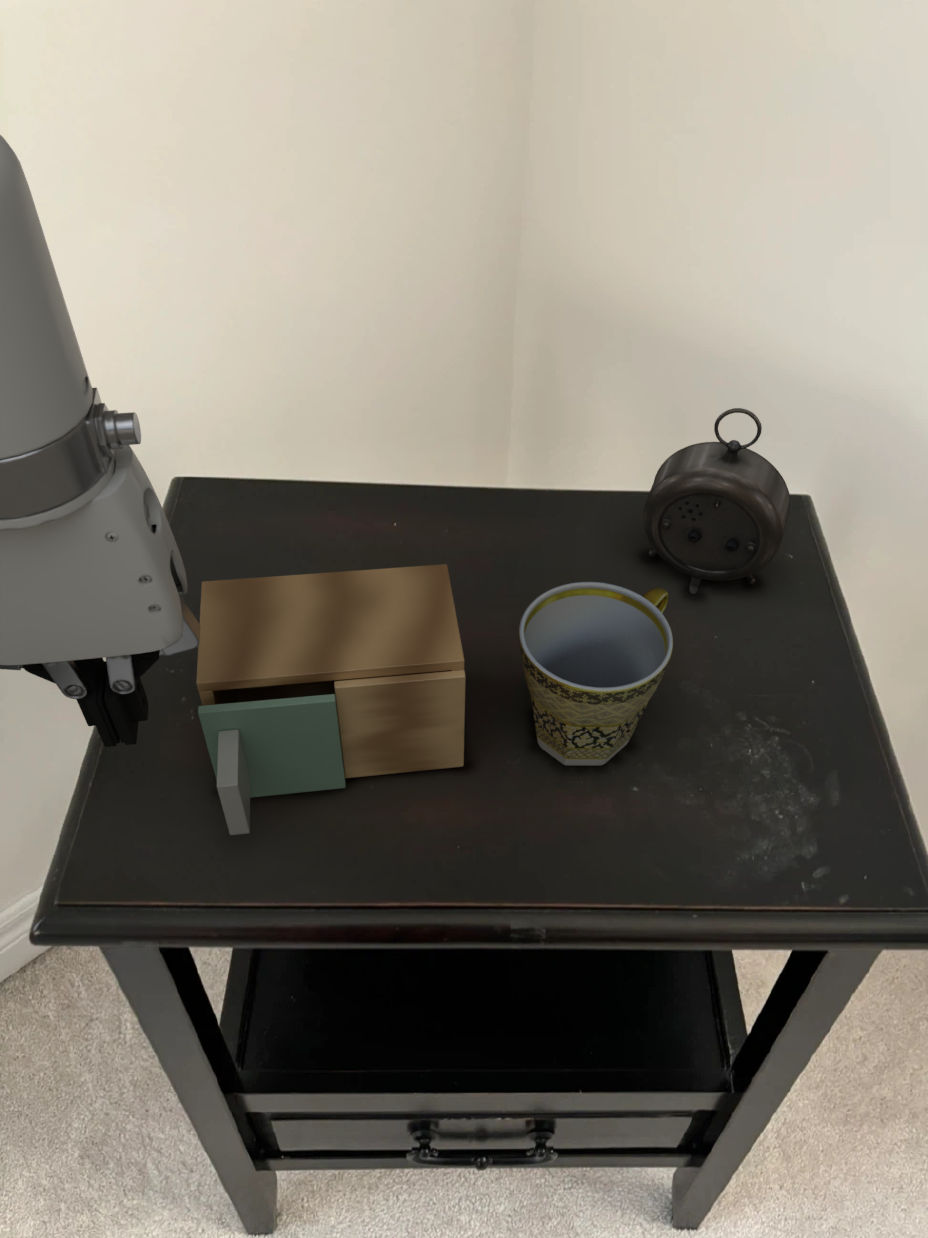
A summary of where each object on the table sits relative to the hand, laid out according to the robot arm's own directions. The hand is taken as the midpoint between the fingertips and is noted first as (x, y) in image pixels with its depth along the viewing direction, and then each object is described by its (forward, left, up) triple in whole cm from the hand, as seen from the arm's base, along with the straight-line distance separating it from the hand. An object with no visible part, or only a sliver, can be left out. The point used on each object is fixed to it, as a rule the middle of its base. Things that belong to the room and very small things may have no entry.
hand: (123, 725), depth 57 cm
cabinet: (+11, +8, -12) cm, 19 cm away
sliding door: (+7, +1, -11) cm, 13 cm away
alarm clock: (+42, +21, -12) cm, 48 cm away
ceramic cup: (+29, +7, -12) cm, 33 cm away
